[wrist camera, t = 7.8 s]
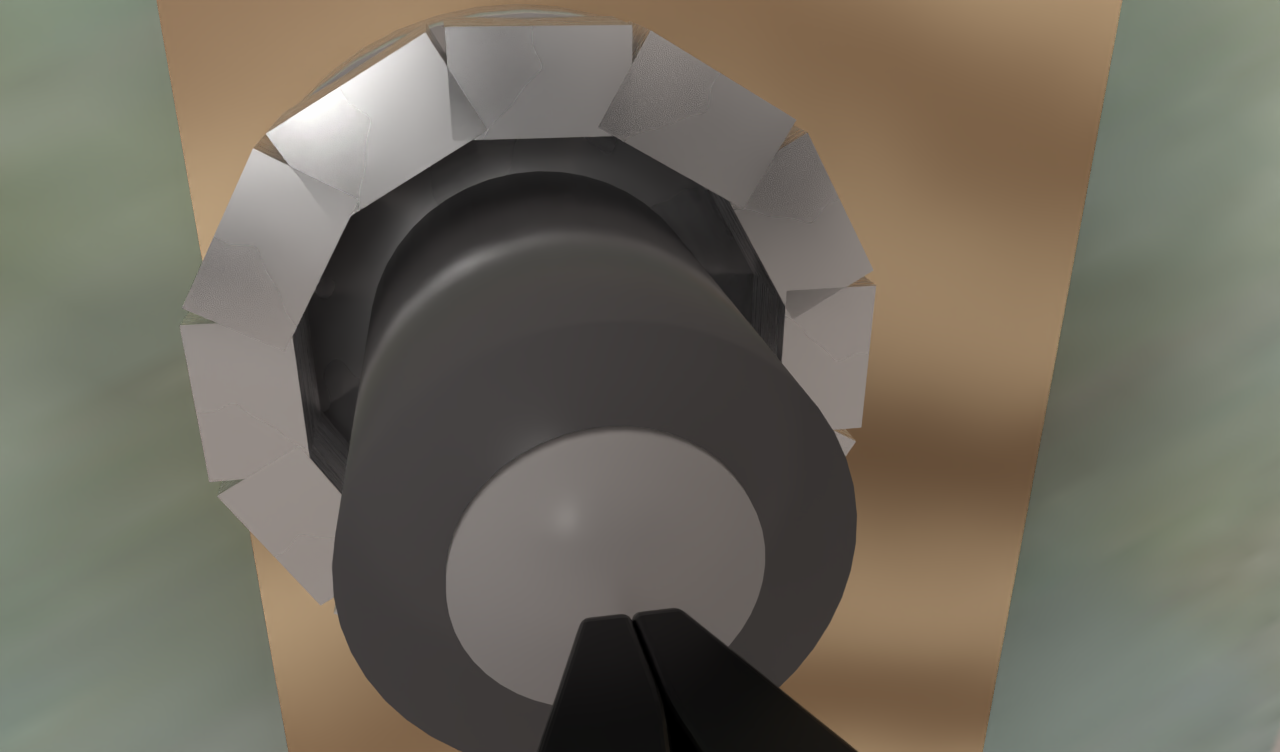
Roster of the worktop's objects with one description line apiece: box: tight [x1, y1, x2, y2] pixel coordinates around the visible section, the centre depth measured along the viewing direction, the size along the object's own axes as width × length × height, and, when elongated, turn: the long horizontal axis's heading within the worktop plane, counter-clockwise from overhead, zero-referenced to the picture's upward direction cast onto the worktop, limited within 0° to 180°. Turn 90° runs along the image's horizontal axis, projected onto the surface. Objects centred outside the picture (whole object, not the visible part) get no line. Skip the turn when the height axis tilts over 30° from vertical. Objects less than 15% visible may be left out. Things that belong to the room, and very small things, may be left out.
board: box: [157, 0, 1122, 752], centre depth 19 cm, size 18×15×1 cm
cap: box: [332, 171, 857, 752], centre depth 12 cm, size 5×5×6 cm
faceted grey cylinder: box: [180, 4, 876, 615], centre depth 15 cm, size 9×9×4 cm
